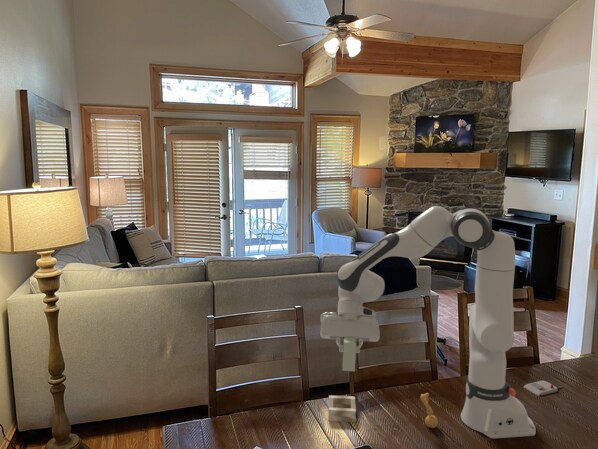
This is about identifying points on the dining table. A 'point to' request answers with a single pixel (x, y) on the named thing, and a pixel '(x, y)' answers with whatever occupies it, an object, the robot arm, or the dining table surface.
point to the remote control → (541, 388)
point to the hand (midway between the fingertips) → (349, 351)
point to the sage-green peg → (349, 354)
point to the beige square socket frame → (342, 409)
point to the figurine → (430, 419)
